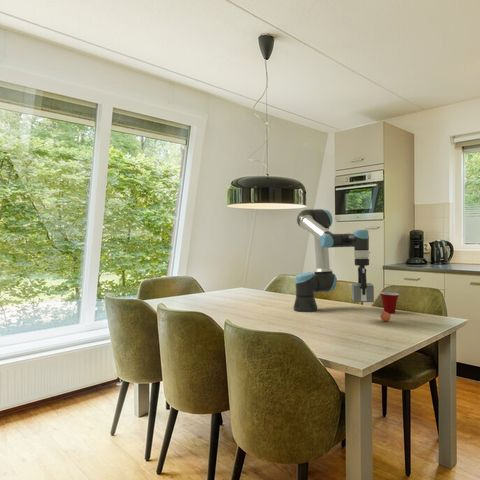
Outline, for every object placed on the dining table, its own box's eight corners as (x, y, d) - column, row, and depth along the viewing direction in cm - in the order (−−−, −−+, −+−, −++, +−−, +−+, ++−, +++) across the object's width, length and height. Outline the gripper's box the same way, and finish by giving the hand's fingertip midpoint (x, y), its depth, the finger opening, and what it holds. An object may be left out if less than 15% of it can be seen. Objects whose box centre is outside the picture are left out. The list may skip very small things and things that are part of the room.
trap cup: (353, 302, 199) (353, 285, 199) (352, 298, 209) (351, 283, 208) (373, 302, 197) (373, 285, 196) (371, 299, 207) (370, 283, 206)
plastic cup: (401, 314, 217) (401, 293, 217) (382, 314, 219) (381, 293, 219) (397, 311, 227) (397, 291, 227) (379, 310, 229) (378, 291, 229)
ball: (392, 315, 196) (388, 323, 197) (391, 313, 201) (387, 322, 202) (383, 311, 198) (379, 319, 198) (382, 309, 202) (378, 317, 203)
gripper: (372, 259, 190) (372, 302, 191) (366, 256, 213) (367, 295, 213) (356, 259, 192) (357, 302, 192) (352, 257, 214) (353, 295, 214)
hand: (362, 299), depth 203 cm, fingers closed on trap cup, 10 cm apart
